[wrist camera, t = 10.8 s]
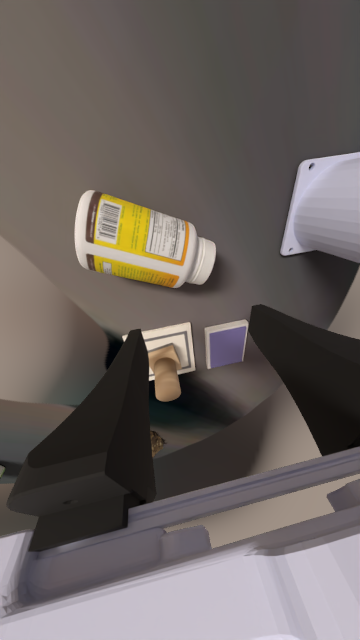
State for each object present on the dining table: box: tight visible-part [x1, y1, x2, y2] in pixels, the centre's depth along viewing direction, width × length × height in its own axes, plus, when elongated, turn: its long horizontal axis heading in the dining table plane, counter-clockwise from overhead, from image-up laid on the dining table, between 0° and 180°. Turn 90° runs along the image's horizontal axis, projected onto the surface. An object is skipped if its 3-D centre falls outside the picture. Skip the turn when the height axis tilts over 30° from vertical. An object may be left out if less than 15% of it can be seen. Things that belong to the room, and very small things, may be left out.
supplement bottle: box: [75, 190, 216, 288], centre depth 15 cm, size 6×6×10 cm
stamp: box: [148, 343, 182, 401], centre depth 23 cm, size 4×4×6 cm
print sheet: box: [123, 322, 195, 381], centre depth 26 cm, size 9×10×1 cm
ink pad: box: [205, 319, 248, 369], centre depth 27 cm, size 6×8×1 cm
